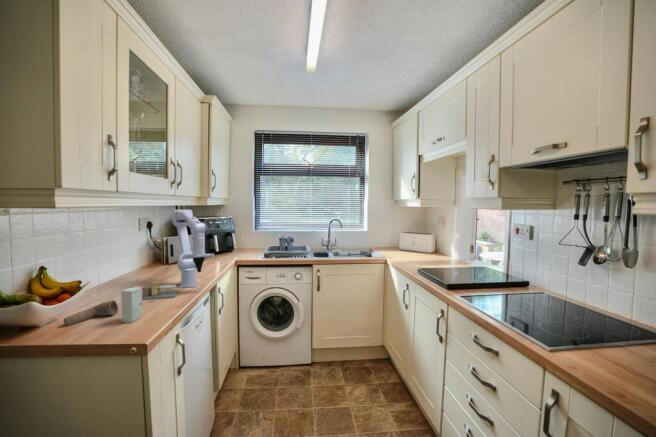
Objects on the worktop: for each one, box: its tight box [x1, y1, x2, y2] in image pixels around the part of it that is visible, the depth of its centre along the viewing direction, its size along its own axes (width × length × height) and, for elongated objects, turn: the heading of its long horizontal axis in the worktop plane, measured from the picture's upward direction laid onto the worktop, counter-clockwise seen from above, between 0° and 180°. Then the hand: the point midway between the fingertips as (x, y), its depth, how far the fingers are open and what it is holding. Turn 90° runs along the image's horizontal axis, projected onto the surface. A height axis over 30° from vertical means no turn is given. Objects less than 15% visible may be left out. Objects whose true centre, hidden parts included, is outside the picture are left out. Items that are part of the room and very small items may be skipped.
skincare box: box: [120, 286, 143, 323], centre depth 113 cm, size 6×4×12 cm
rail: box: [142, 284, 180, 301], centre depth 143 cm, size 15×10×5 cm, turn 105°
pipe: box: [63, 299, 119, 327], centre depth 113 cm, size 6×17×10 cm
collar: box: [151, 279, 162, 296], centre depth 143 cm, size 2×6×6 cm, turn 15°
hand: (199, 271), depth 151 cm, fingers closed
